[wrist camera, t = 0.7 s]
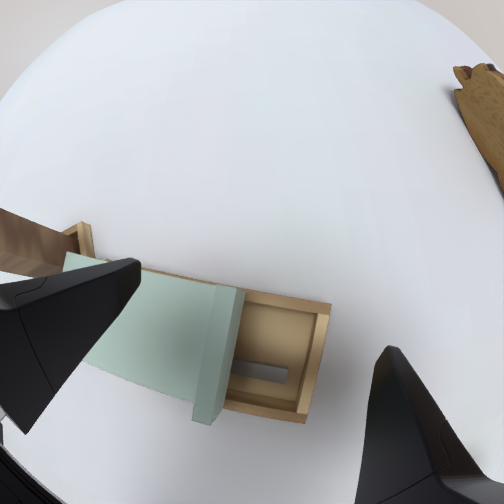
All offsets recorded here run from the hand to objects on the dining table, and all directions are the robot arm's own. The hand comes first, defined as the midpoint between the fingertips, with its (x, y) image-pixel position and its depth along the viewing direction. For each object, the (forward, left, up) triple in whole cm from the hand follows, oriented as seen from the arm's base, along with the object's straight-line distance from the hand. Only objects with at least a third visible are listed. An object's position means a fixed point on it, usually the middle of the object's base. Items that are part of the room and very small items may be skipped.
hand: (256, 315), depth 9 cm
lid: (-3, +10, -11) cm, 15 cm away
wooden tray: (-3, +5, -14) cm, 16 cm away
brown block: (0, +21, -14) cm, 26 cm away
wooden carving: (+21, -21, -15) cm, 33 cm away
